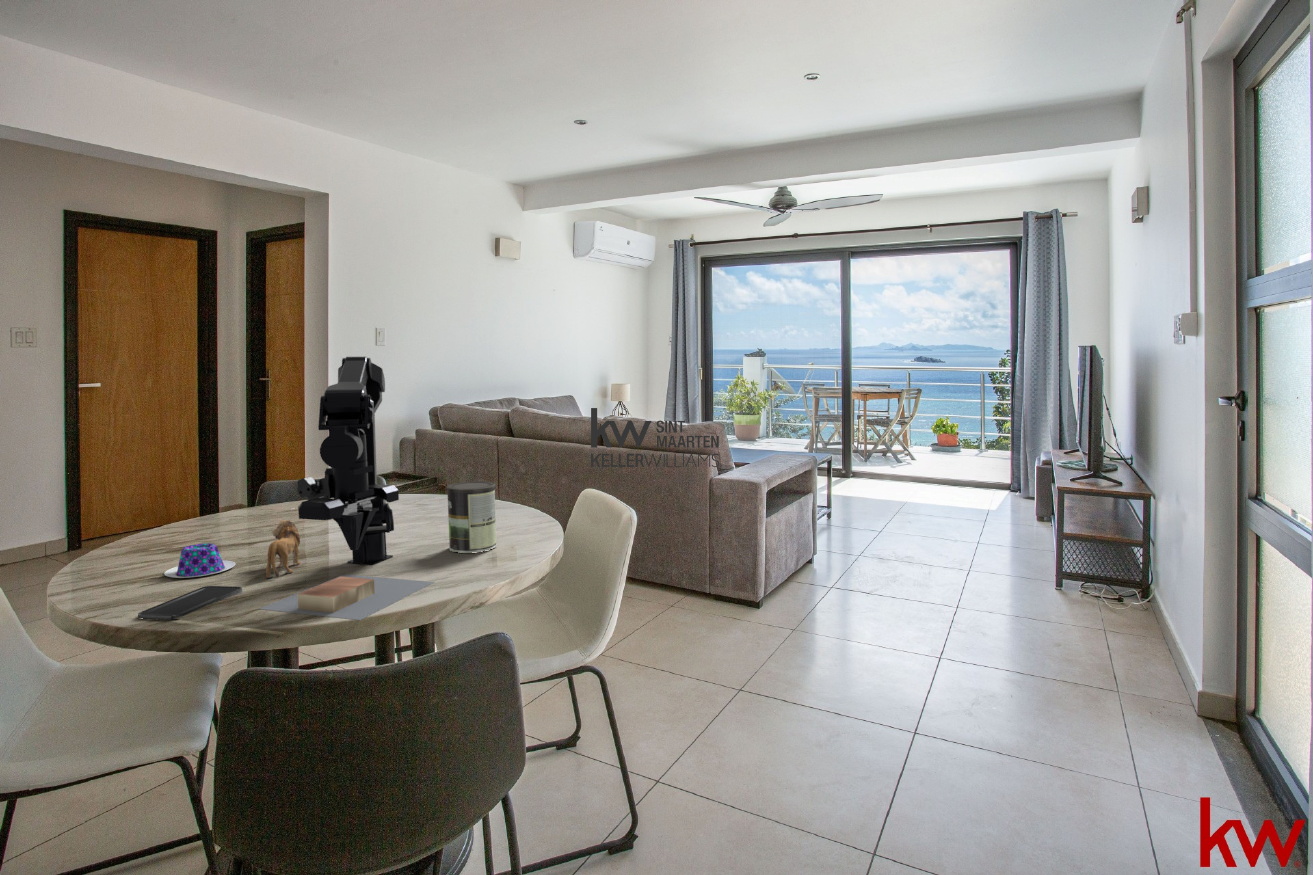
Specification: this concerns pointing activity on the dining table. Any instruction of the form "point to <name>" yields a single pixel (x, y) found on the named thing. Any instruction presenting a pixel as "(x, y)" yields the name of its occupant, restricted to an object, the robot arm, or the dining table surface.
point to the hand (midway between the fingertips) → (354, 549)
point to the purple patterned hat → (199, 562)
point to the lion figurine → (283, 547)
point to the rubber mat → (383, 597)
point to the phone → (189, 602)
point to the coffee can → (471, 516)
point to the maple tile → (335, 594)
